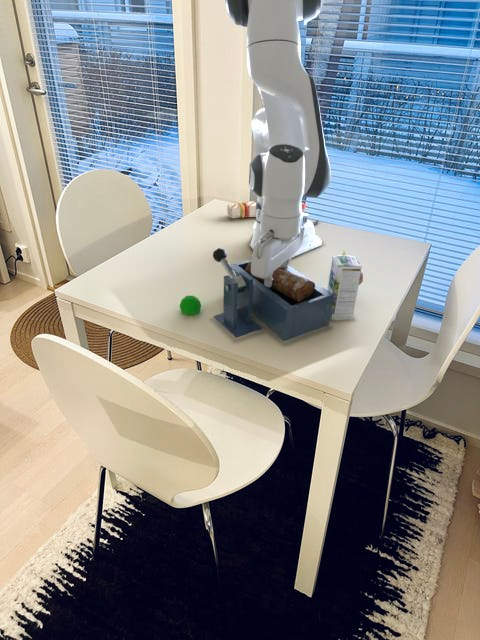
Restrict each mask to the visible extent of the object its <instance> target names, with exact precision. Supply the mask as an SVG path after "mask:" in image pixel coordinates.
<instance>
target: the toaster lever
mask: <svg viewBox="0 0 480 640" xmlns="http://www.w3.org/2000/svg"><path fill="white" fill-rule="evenodd" d="M227 256H228V254H227V251H226V250H225V249H224V248H222V247H218V248H215V249H214V251H213V252H212V258H213V260H214V261H215V262H217V263H220V264H221V266H222V267H223V269H224V270H225V272H226V274H227V275H228V276H230V278H232V279H233V280H234V281H235V282H237V283H238V293H241V292H244V291H245V288H246V286H247V284H246V283H245V281H244V280H243V278H242V277H241V276H238V277H237V276H236V274H235V273H234V271H233V269H232V268H231V266H230V265H231V264H230V263H229V261H228V260H227Z"/></svg>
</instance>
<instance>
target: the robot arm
mask: <svg viewBox="0 0 480 640" xmlns="http://www.w3.org/2000/svg"><path fill="white" fill-rule="evenodd" d="M224 2H225V8H226V11H227V13H228V16H229V19H230V20H231V22H233V23H234V24H235V25H236V26H240V27H244V28H246V63H247V71H248V76H249V77H250V79H251V81H252V82H253V84H254V85H255V86H256V87H257V89H258V92H259V94H260V98H261V101H262V102H261V103H262V105H263V108H260V109H259V110H258V111H257V112H256V113H255V114H254V116H253V118H252V121H251V131H252V135H253V139H254V140H253V141H254V148H255V157H253V159H252V160H251V161H250V162H249V173H248V187H249V189H250V191H252V192H253V193H254V194H255V195H256V196H257V199H256V200H255V201H256V211H255V213H256V217H255V222H254V224H253V229H254V230H253V235H252V238H251V241H250V243H249V246H250V248H251V249H252V254H251V260H252V262H251V274H252V275H253V276H255V277H258V278H262V279H264V286H265V287H269V288H270V287H271V286H272V285H273V284H274V279H273V278H272V275H273V272H274V271H275V270H276V269H277V268H278V267H279V269H282V270H285V271H287V272H288V266H290V263H291V260H292V258H294V257H298V256H299V255H302V254H304V253H306V252H308V251H311V250H313V249H316V248H319V247H320V246H322V245H323V244H322V243H323V242H322V240H321V238H320V237H319V236H318V235H316V231H315V225H316V224H318V223H319V220H318V219H317V220H315V221H314V222H312V221H311V220H310V219H309V214H308V213H306V212H303V211H305V210H306V209H307V204H306V203H304V202H302V199H303V198H308V199H309V198H310V199H317V198H319V197H320V196H321V195H322V194H323V193H325V191H327V190H328V188H329V187H330V185H331V182H332V170H331V163H330V159H329V156H328V151H327V148H326V141H325V134H324V127H323V121H322V115H321V109H320V102H319V96H318V91H317V86H316V82H315V80H314V77H313V76H312V75H311V74H309V73H308V72H307V71H306V69H305V67H304V66H303V63H302V57H301V54H302V53H301V50H302V49H301V47H302V46H301V32H300V24H299V21H302V22H303V26H306V25H308V23H309V22H311V21H312V20H314V19H316V18H317V17H318V15H319V14H320V13H321V10H322V7H323V5H324V3H325V0H224Z"/></svg>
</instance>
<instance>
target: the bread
mask: <svg viewBox="0 0 480 640" xmlns="http://www.w3.org/2000/svg"><path fill="white" fill-rule="evenodd" d="M251 262H252V261H251ZM251 262H250V263H249V264H248V265H247V267H246V272H247V273H248V274H250V275H251V276H252V277H254V278H255V279H257V280H259V281H260V282H262V283H264V279H262V278H258V277H255V276H253V275H252V274H251ZM272 278H273V279H274V284H273V285H272V286H271V288H273V289H275V290H277V291H278V292H280V293H282V294H284V295H285V296H287V297H289V298H290V299H292V300H294V301H297V302H301V301H302V300H304V299H306V298H308V297H309V296H310V295H311V294H312V293H313V291H314V289H315V283H316V282H315V281H313V280H312V281H313V282H312V281H310V280H311V279H310V280H308V279H306V278H303V277H300V276H298V275H295V274H293V273H290V272H287V271H285V270H282V269H279V268H277V269H276V270H275V271H274V272H273V275H272ZM314 282H315V283H314Z"/></svg>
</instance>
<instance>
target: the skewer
mask: <svg viewBox="0 0 480 640" xmlns="http://www.w3.org/2000/svg"><path fill="white" fill-rule="evenodd" d="M226 209H227V210H226V212H227V215H228V217H229V218H230V219H239V218H241V219H244V218H256V213H255V211H256V200H255V201H254V200H253V201H244V202H237V203H233V204H232V203H231V204H227V208H226Z"/></svg>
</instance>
